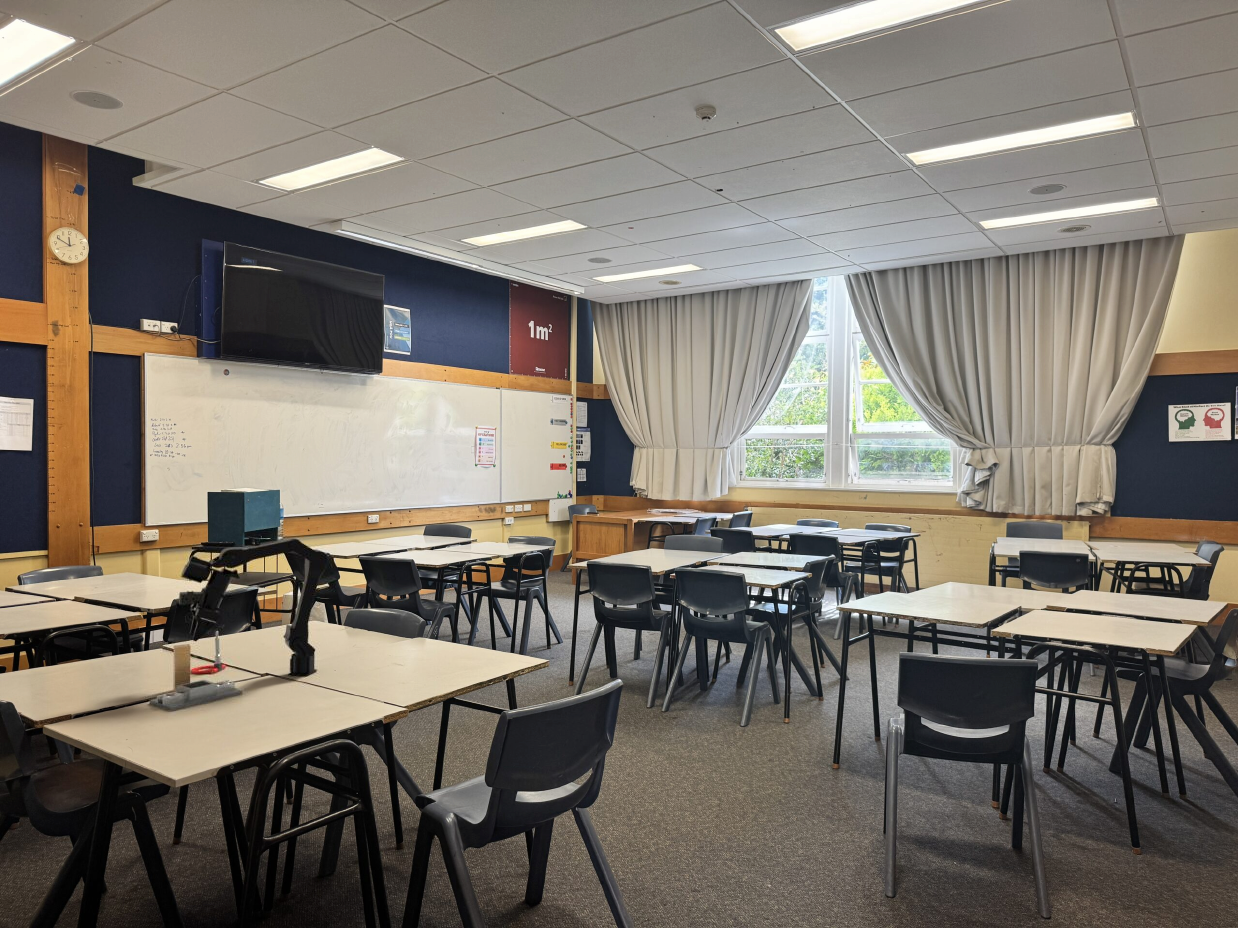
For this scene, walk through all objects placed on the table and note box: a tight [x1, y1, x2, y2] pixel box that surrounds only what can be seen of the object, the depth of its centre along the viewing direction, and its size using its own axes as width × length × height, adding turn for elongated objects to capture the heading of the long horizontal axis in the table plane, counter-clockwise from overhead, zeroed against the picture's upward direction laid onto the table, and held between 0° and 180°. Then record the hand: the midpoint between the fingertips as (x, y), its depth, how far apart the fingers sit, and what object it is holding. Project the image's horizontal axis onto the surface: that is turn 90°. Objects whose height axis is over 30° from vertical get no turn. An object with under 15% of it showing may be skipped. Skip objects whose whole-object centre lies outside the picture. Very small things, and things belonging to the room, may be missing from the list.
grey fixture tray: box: [148, 679, 244, 712], centre depth 223 cm, size 20×12×4 cm, turn 146°
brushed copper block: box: [172, 643, 192, 692], centre depth 232 cm, size 4×4×13 cm
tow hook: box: [190, 630, 227, 675], centre depth 254 cm, size 8×13×9 cm
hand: (192, 637), depth 234 cm, fingers open, 9 cm apart
